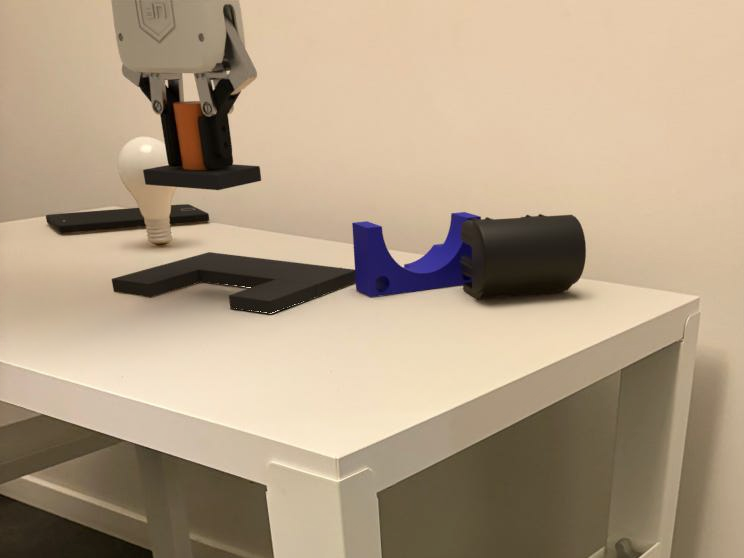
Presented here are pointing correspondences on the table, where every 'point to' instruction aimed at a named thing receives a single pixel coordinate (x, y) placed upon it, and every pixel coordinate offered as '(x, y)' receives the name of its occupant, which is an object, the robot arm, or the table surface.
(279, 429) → the table surface
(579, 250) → the end cap
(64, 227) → the cell phone
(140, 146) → the lightbulb
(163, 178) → the small pad
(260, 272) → the big pad
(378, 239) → the blue pipe cradle
